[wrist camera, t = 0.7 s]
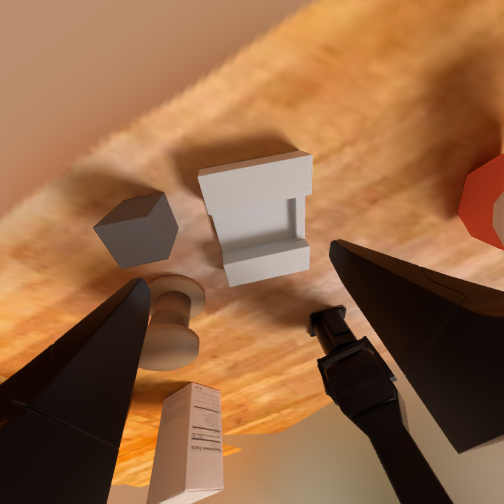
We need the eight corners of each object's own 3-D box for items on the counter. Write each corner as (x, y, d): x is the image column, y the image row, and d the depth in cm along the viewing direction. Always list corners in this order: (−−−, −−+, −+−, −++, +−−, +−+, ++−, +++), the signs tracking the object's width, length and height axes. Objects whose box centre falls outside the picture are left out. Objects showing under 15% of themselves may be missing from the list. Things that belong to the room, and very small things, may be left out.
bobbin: (211, 309, 30) (211, 362, 23) (158, 321, 29) (142, 379, 23) (195, 269, 25) (188, 321, 18) (132, 282, 25) (103, 341, 18)
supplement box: (194, 406, 47) (187, 506, 35) (163, 398, 42) (142, 511, 30) (222, 390, 45) (225, 491, 33) (192, 380, 40) (183, 493, 28)
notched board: (299, 255, 27) (309, 269, 24) (228, 271, 26) (229, 287, 24) (299, 150, 19) (312, 154, 17) (199, 169, 19) (197, 176, 16)
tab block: (178, 227, 22) (168, 258, 17) (142, 235, 21) (121, 268, 17) (164, 192, 19) (147, 216, 14) (123, 200, 19) (92, 227, 14)
